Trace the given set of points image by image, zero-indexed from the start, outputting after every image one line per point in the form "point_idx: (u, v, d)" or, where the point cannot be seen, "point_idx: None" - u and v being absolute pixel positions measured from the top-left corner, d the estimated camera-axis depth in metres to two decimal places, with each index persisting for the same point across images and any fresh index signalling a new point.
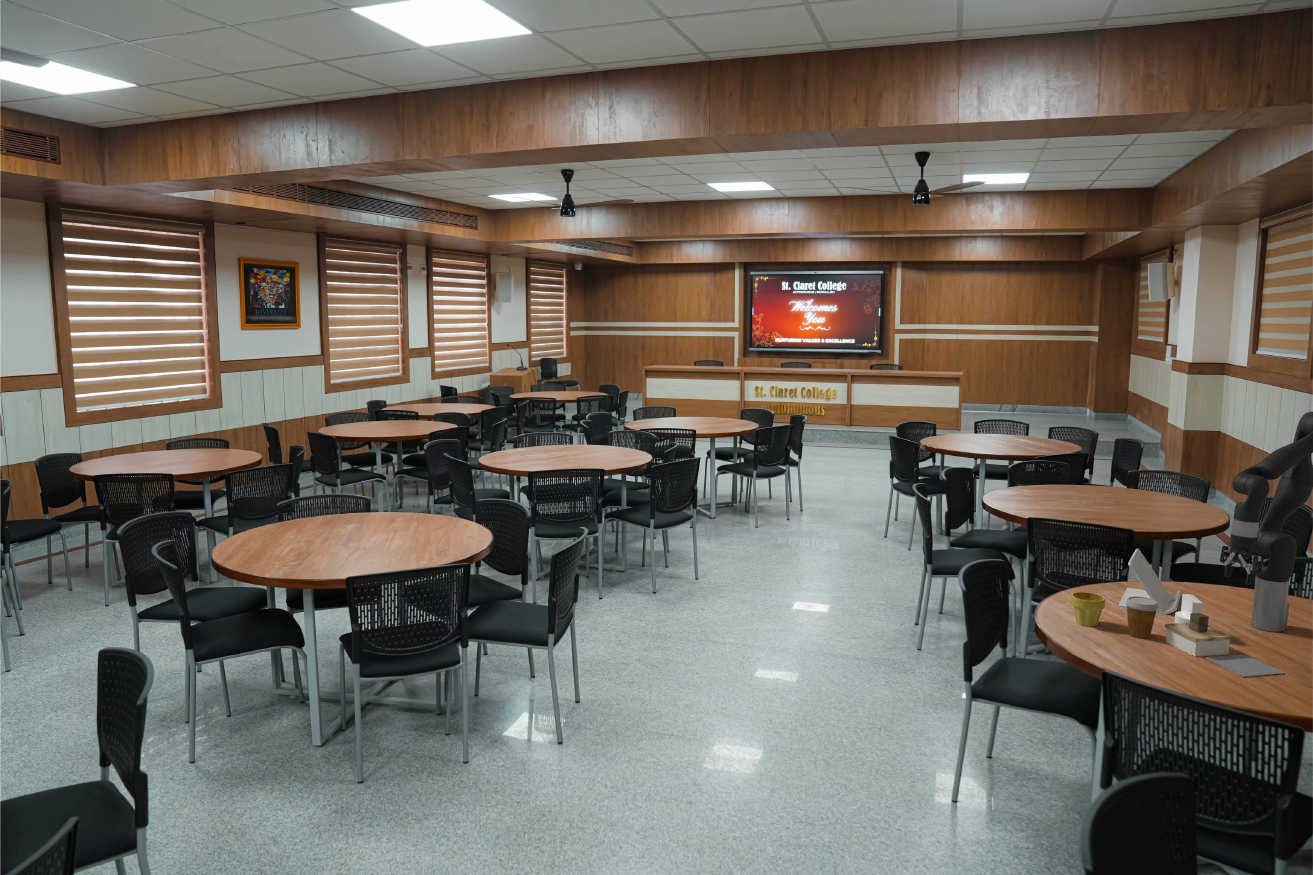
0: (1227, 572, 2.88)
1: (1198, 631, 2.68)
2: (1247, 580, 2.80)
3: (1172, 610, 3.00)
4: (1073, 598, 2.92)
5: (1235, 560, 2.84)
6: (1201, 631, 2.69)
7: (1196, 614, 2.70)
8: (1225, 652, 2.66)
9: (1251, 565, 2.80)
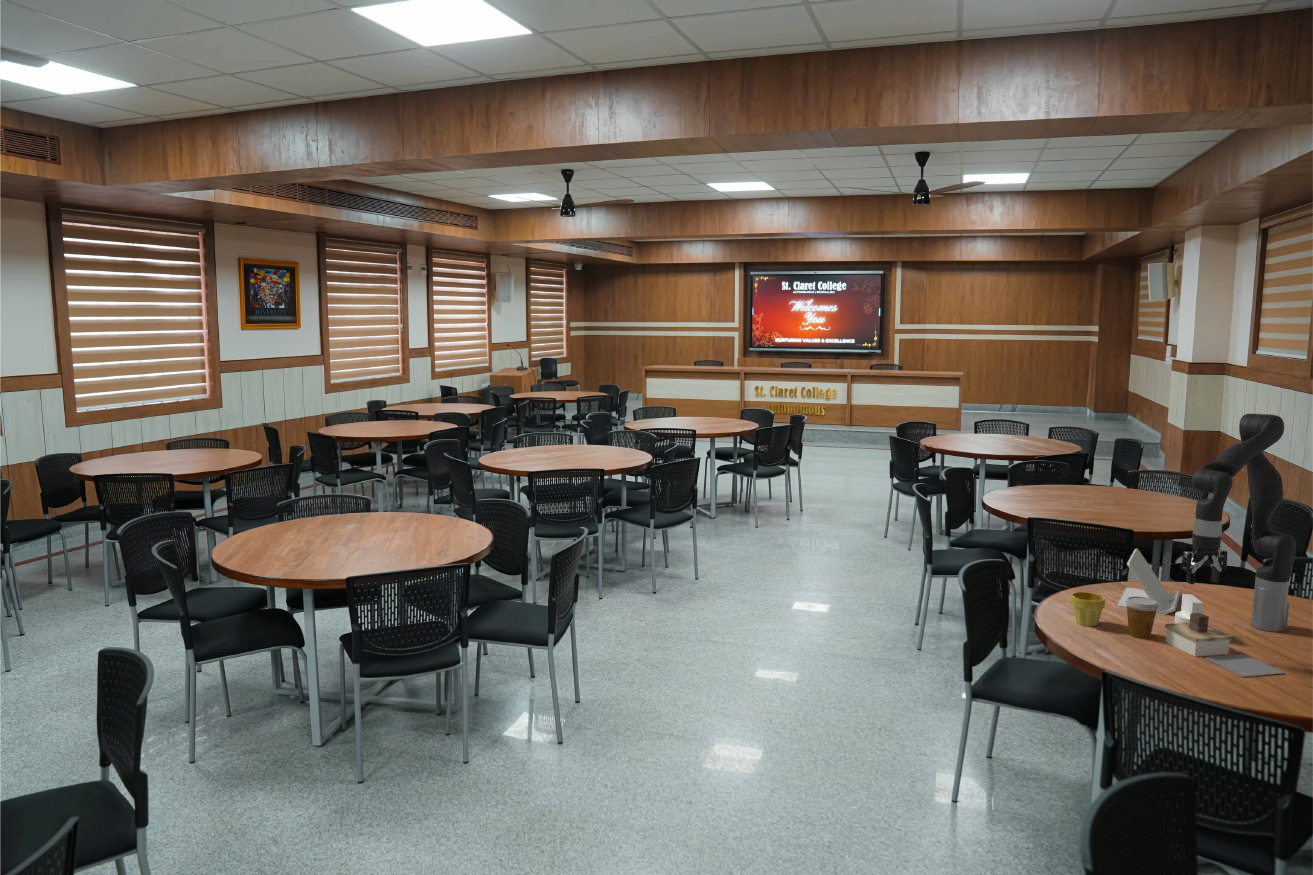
0: None
1: (1198, 631, 2.68)
2: (1217, 578, 2.68)
3: (1171, 610, 3.01)
4: (1073, 598, 2.92)
5: (1204, 563, 2.66)
6: (1201, 631, 2.69)
7: (1196, 614, 2.70)
8: (1225, 652, 2.66)
9: None
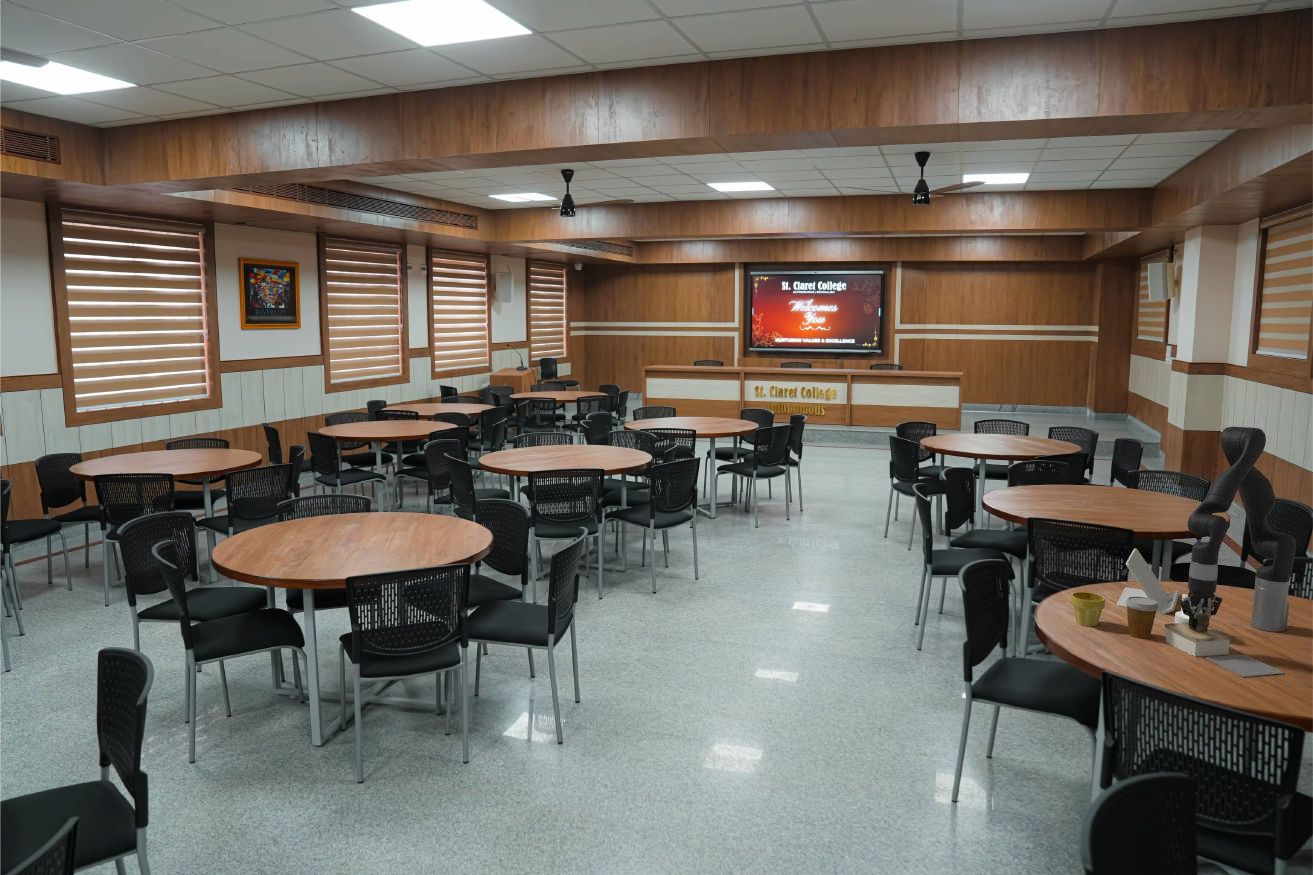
0: None
1: (1198, 631, 2.68)
2: None
3: (1170, 610, 3.01)
4: (1073, 598, 2.92)
5: (1202, 605, 2.68)
6: (1201, 631, 2.69)
7: None
8: (1225, 652, 2.66)
9: None
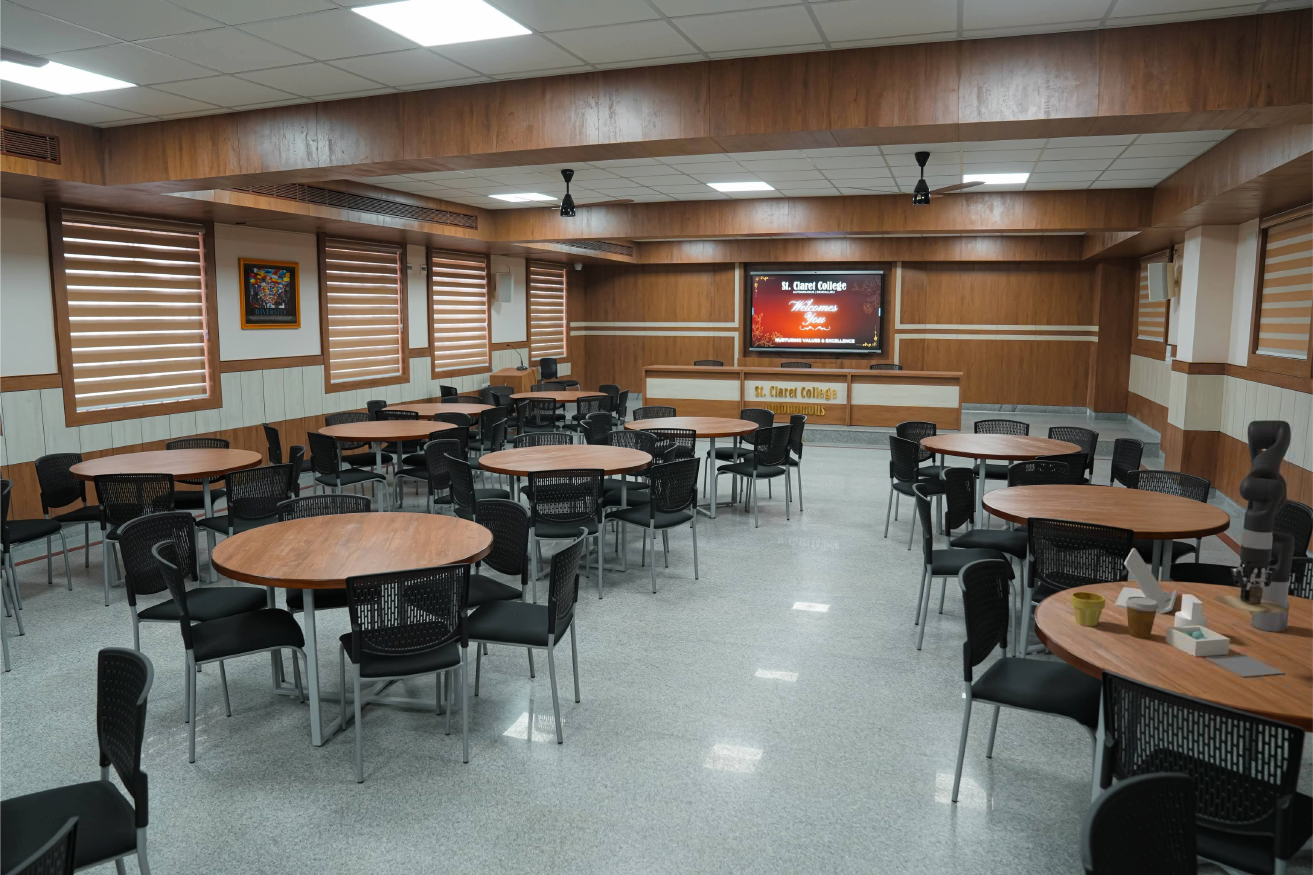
0: None
1: (1251, 603, 2.52)
2: None
3: (1168, 609, 3.01)
4: (1073, 598, 2.92)
5: (1255, 575, 2.52)
6: (1254, 603, 2.52)
7: None
8: (1225, 652, 2.66)
9: None
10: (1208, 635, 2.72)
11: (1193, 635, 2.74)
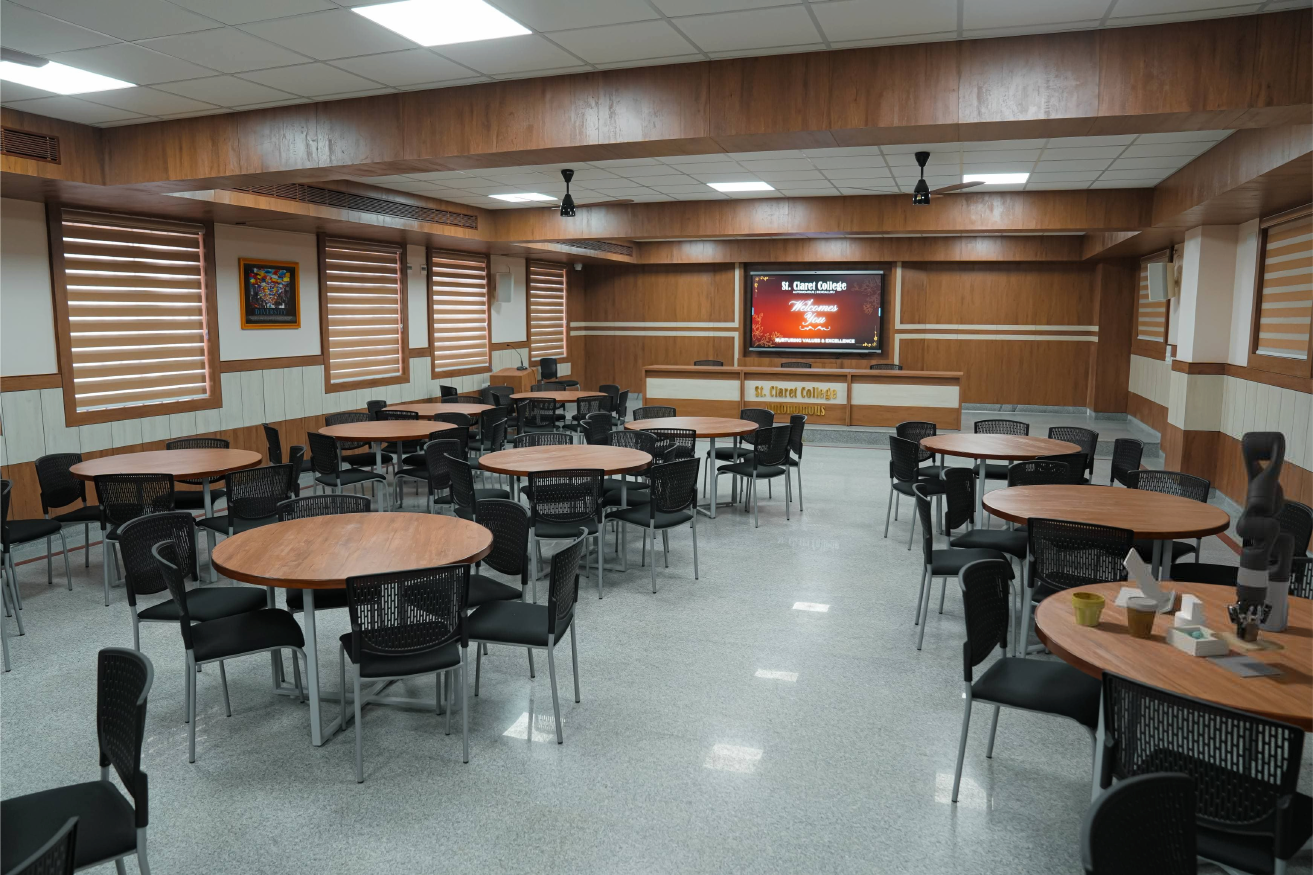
0: None
1: (1247, 640, 2.54)
2: None
3: (1167, 609, 3.01)
4: (1073, 598, 2.92)
5: (1251, 613, 2.54)
6: (1250, 641, 2.54)
7: None
8: (1225, 652, 2.66)
9: None
10: (1208, 635, 2.72)
11: (1193, 635, 2.74)
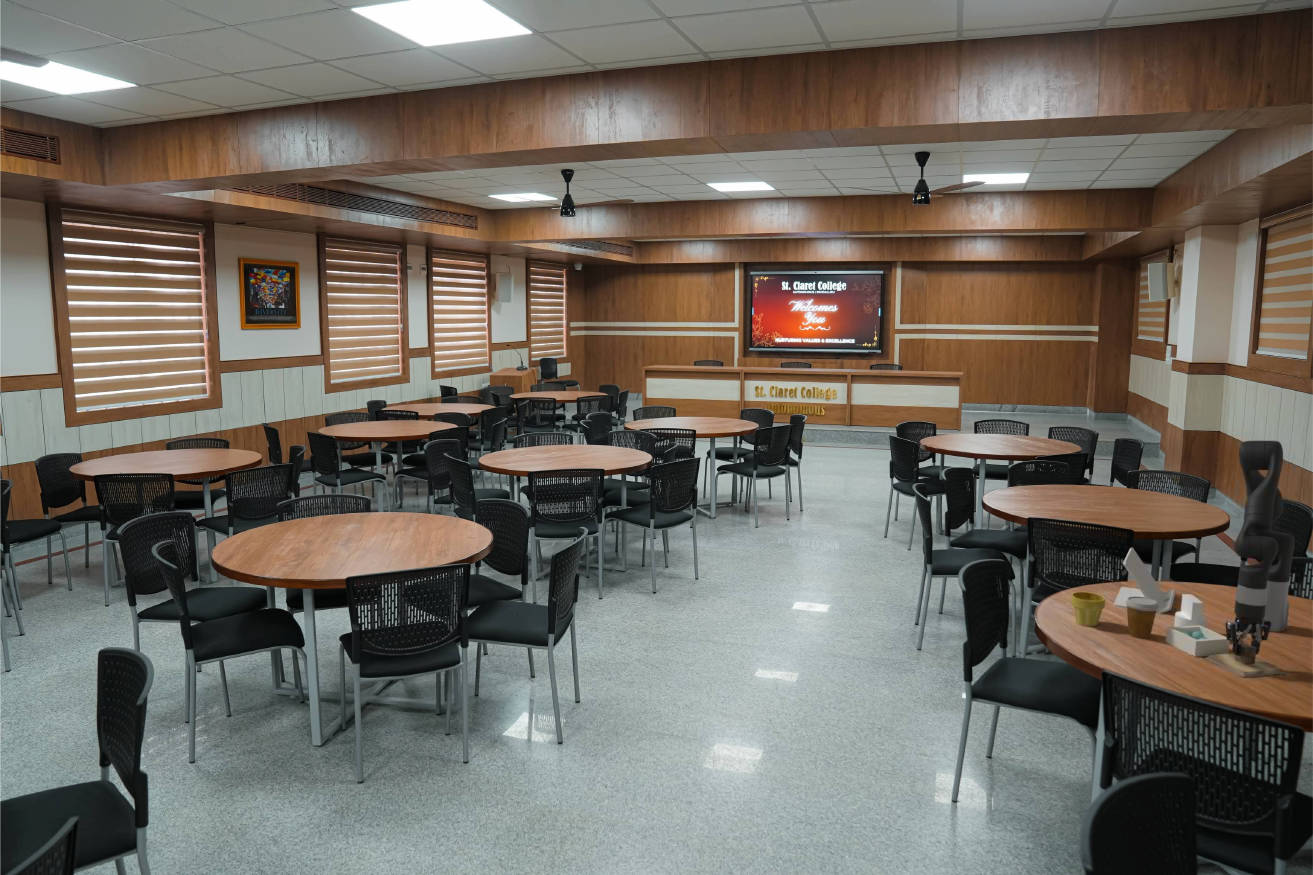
0: None
1: (1245, 663, 2.55)
2: (1257, 650, 2.56)
3: (1167, 609, 3.02)
4: (1073, 598, 2.92)
5: (1249, 631, 2.54)
6: (1248, 663, 2.55)
7: (1243, 645, 2.57)
8: (1225, 652, 2.66)
9: None
10: (1208, 635, 2.72)
11: (1193, 635, 2.74)
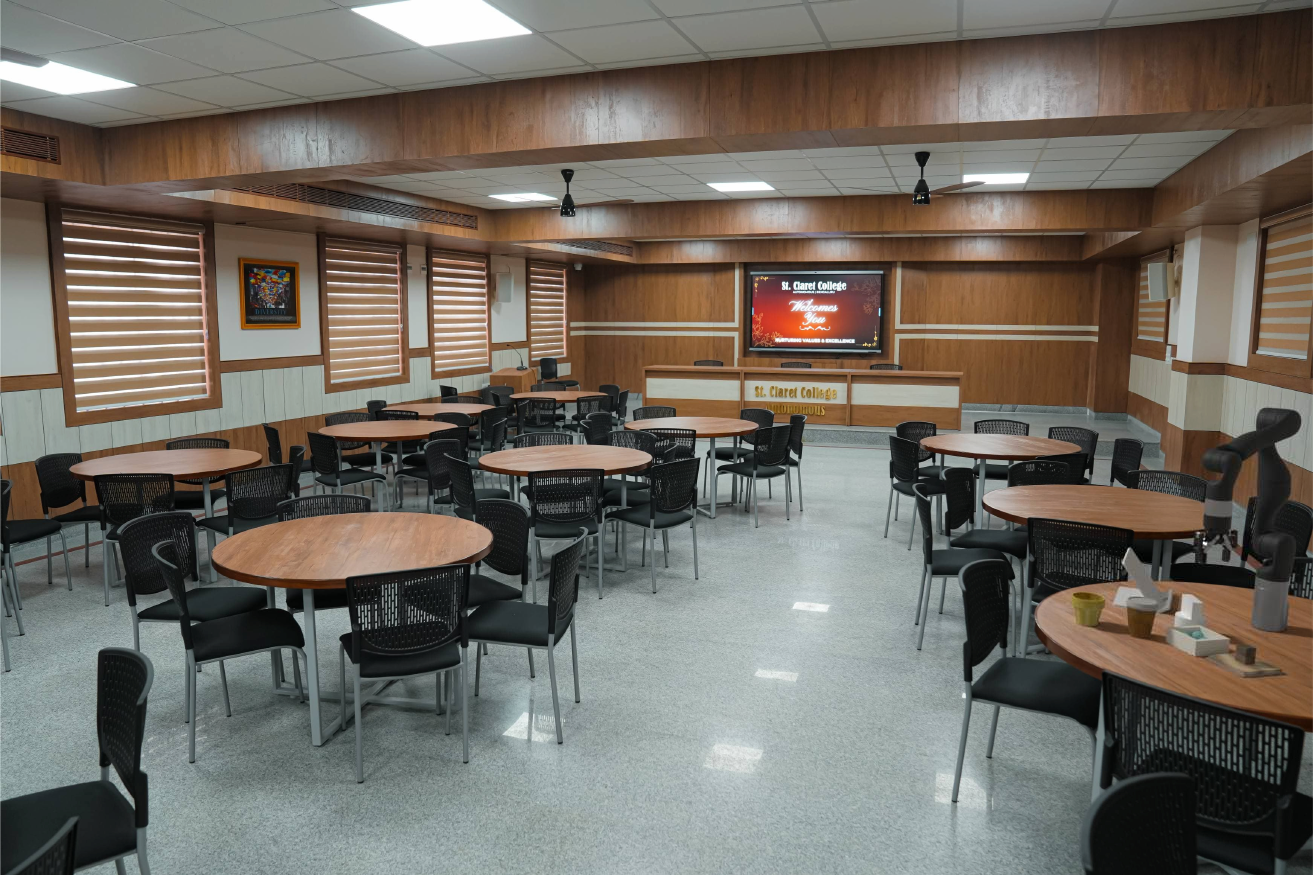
0: None
1: (1245, 663, 2.55)
2: (1228, 557, 2.71)
3: (1166, 609, 3.02)
4: (1073, 598, 2.92)
5: (1215, 543, 2.69)
6: (1248, 663, 2.55)
7: (1243, 645, 2.57)
8: (1225, 652, 2.66)
9: None
10: (1208, 635, 2.72)
11: (1193, 635, 2.74)
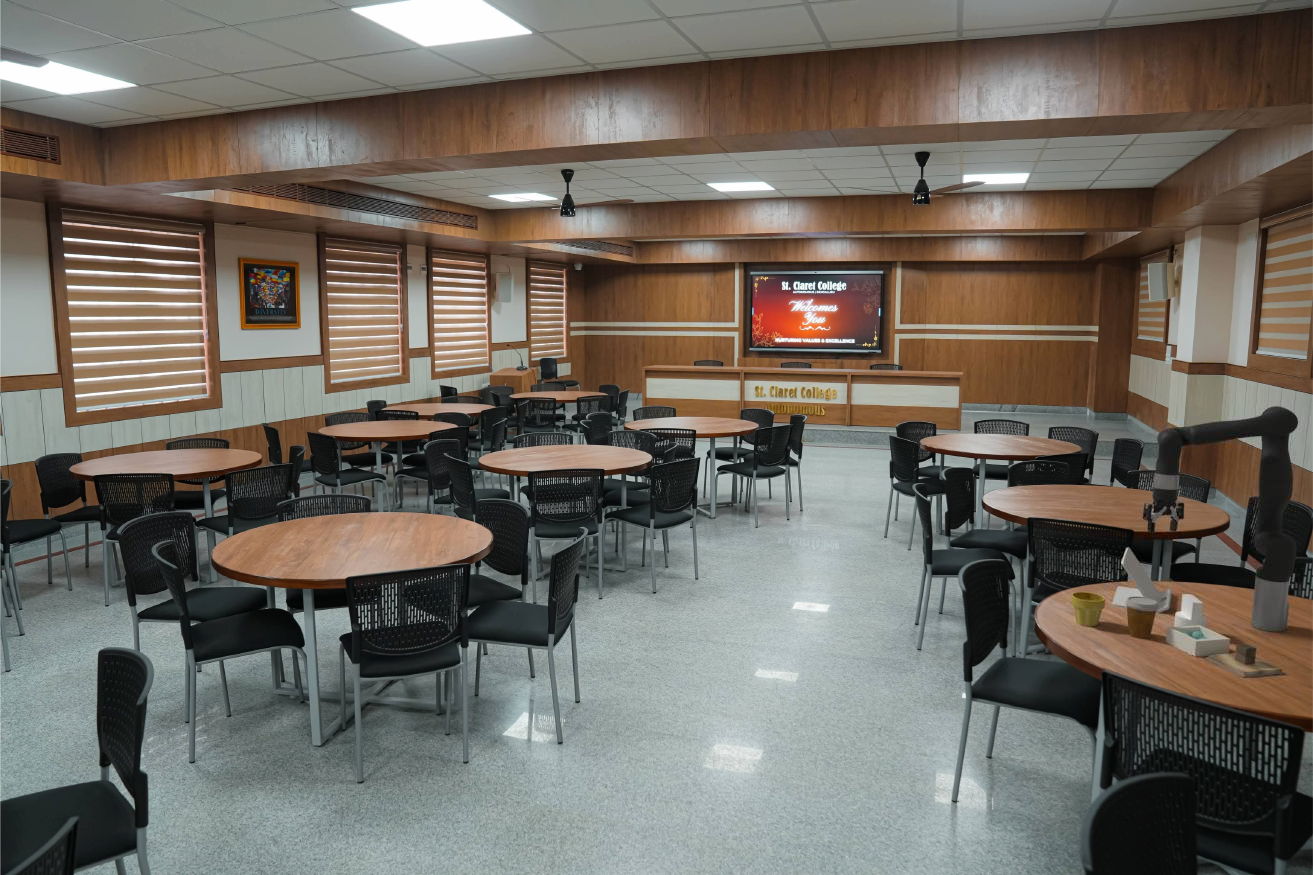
0: None
1: (1245, 663, 2.55)
2: (1175, 527, 2.98)
3: (1165, 608, 3.02)
4: (1073, 598, 2.92)
5: (1163, 513, 2.96)
6: (1248, 663, 2.55)
7: (1243, 645, 2.57)
8: (1225, 652, 2.66)
9: None
10: (1208, 635, 2.72)
11: (1193, 635, 2.74)
